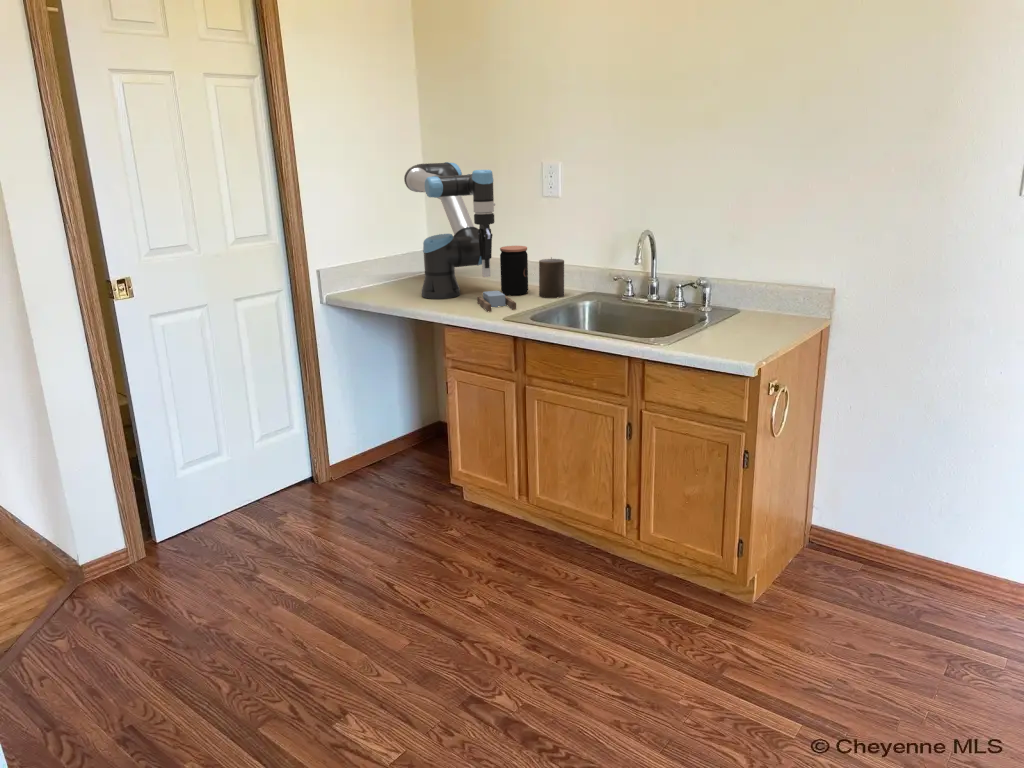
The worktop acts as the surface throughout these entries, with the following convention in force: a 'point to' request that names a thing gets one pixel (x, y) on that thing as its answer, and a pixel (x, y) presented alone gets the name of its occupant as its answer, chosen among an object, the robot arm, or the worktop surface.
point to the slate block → (494, 298)
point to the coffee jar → (514, 270)
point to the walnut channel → (488, 306)
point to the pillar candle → (551, 278)
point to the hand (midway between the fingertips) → (486, 276)
